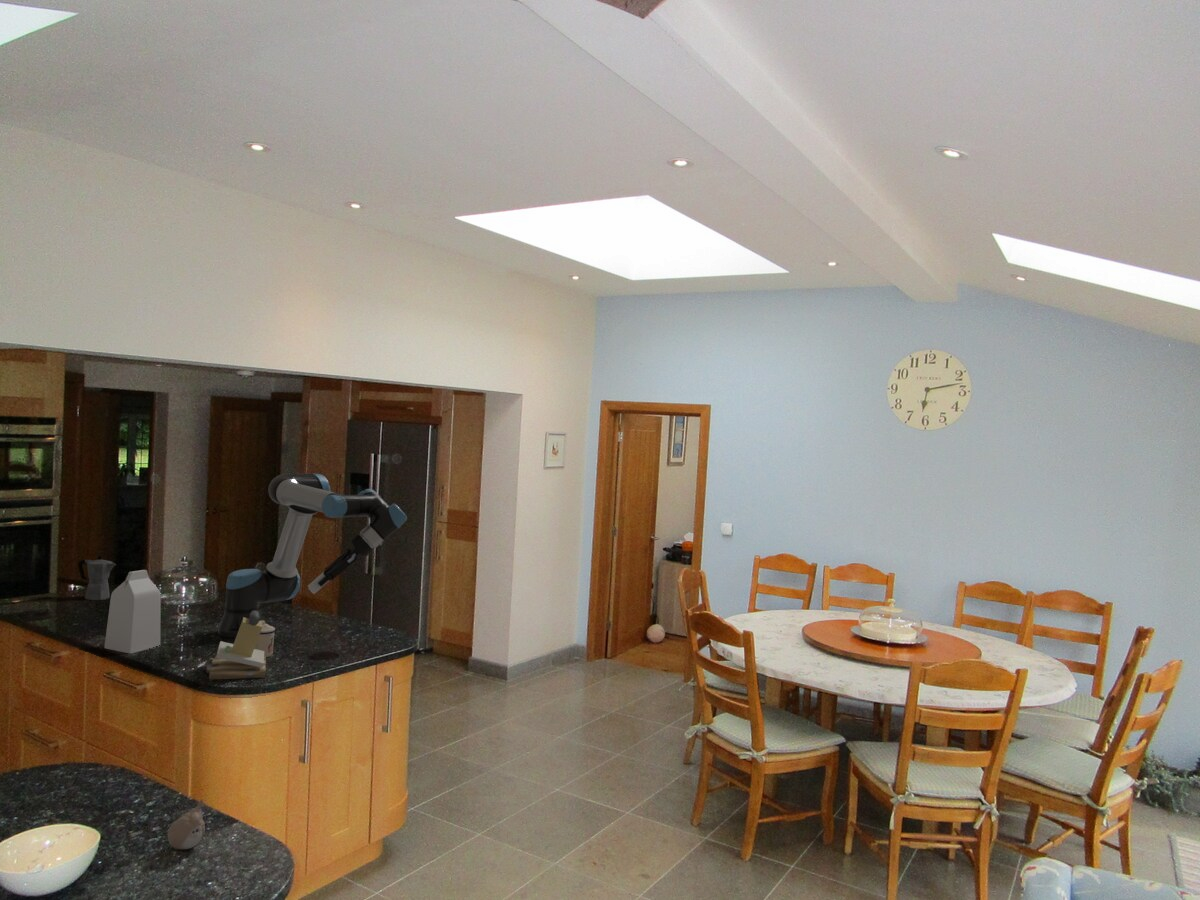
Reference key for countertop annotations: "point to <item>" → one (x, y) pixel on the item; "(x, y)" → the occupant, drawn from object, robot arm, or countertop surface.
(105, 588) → the coffeepot
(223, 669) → the brown layered stack
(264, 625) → the teacup with lid
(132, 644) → the milk
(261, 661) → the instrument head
